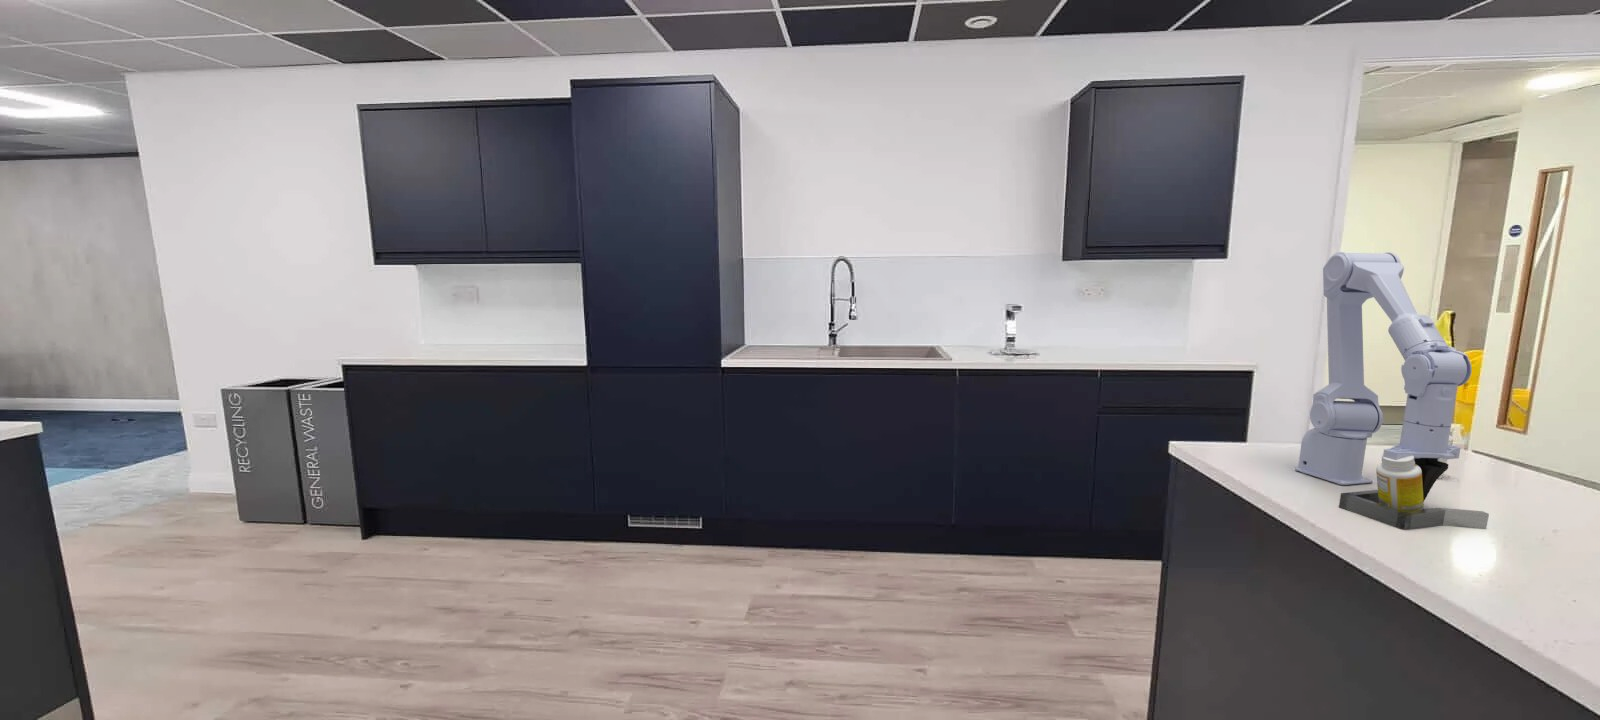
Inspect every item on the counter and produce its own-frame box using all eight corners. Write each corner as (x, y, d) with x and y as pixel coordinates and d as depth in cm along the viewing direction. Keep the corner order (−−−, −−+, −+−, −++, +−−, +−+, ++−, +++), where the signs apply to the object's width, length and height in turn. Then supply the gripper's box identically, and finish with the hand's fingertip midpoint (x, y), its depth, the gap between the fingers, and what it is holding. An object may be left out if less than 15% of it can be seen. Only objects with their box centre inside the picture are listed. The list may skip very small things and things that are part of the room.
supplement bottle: (1430, 508, 107) (1427, 452, 105) (1415, 523, 105) (1411, 466, 102) (1388, 499, 112) (1384, 445, 110) (1372, 513, 110) (1368, 458, 107)
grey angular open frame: (1323, 501, 114) (1325, 488, 114) (1383, 495, 118) (1385, 482, 117) (1423, 536, 100) (1426, 521, 99) (1488, 528, 103) (1491, 513, 103)
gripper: (1423, 431, 101) (1409, 513, 103) (1488, 426, 105) (1473, 505, 107) (1373, 420, 108) (1362, 497, 110) (1436, 416, 112) (1424, 491, 114)
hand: (1414, 500), depth 109 cm, fingers closed
